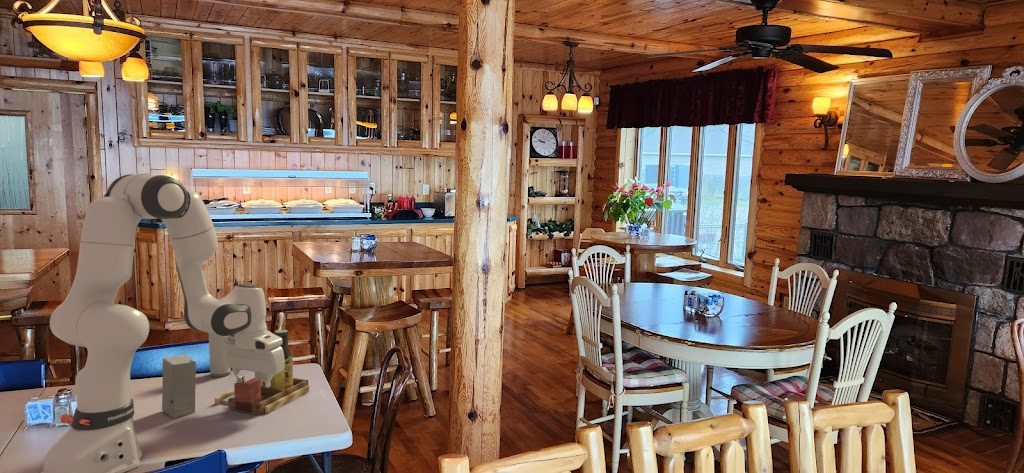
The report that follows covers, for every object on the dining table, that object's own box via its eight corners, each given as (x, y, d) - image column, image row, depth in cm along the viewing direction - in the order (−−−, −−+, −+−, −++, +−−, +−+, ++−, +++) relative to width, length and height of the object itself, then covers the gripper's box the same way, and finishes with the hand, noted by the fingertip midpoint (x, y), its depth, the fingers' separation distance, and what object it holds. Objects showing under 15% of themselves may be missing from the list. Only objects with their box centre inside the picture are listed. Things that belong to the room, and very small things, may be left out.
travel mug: (205, 377, 222) (203, 318, 219) (217, 370, 228) (215, 313, 226) (223, 378, 221) (220, 319, 218) (234, 371, 227) (232, 314, 225)
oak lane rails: (267, 413, 191) (267, 407, 191) (214, 404, 197) (214, 398, 197) (309, 392, 209) (309, 385, 208) (259, 384, 215) (259, 378, 215)
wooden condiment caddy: (259, 414, 189) (258, 387, 188) (228, 409, 193) (227, 382, 192) (308, 389, 210) (307, 364, 209) (279, 384, 214) (279, 360, 213)
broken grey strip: (232, 405, 197) (231, 385, 196) (222, 403, 198) (221, 383, 198) (272, 386, 213) (271, 368, 213) (262, 384, 215) (262, 366, 214)
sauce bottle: (289, 397, 204) (287, 334, 201) (268, 397, 204) (266, 333, 202) (296, 389, 210) (294, 328, 208) (276, 389, 210) (274, 328, 208)
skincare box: (161, 411, 192) (158, 358, 190) (187, 404, 197) (184, 352, 195) (172, 419, 186) (170, 364, 184) (199, 412, 191) (196, 359, 189)
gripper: (214, 338, 193) (217, 383, 195) (272, 345, 186) (274, 392, 188) (230, 332, 199) (233, 376, 201) (287, 339, 192) (289, 385, 194)
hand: (253, 384), depth 195 cm, fingers open, 8 cm apart
